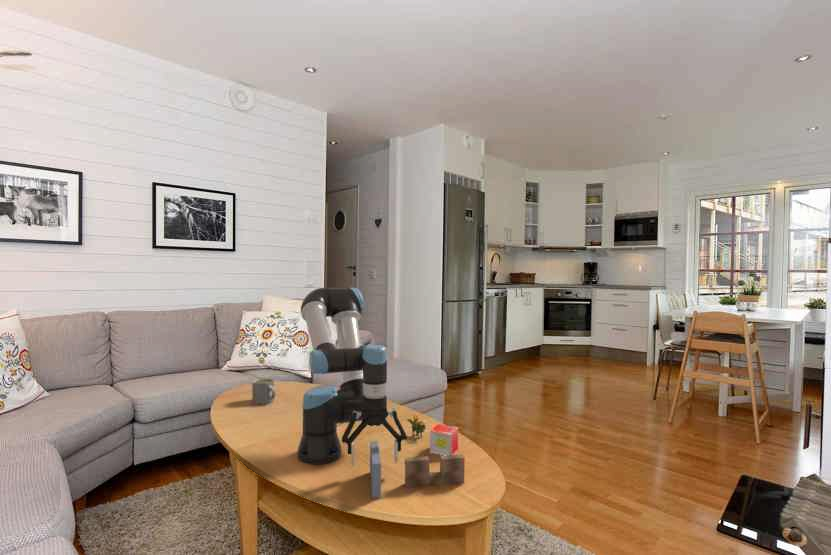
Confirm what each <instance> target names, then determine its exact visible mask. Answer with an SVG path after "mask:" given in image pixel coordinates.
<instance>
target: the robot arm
mask: <svg viewBox="0 0 831 555" xmlns="http://www.w3.org/2000/svg"><path fill="white" fill-rule="evenodd" d="M363 297H364V296H363V294H362V292H361V290H359V288H356V287H349V286H347V287H319V288H315V289H313V290H311V291H310V292H309V293H308V294H307V295H306V296H305V297H304V298H303V300H302V302H301V306H300V313H301V317H302V319H303V320H304V321H305V323H306V327H307V331H308V335H309V338H310V343H311V346H312V351H310V353H309V355H308V356H309V358H308V359H309V360H308V361H309V371H310V373H312V374H313V375H319V374H322V375H325V374H334V373H341V374H342V383H341V384H339V389H338V388H337V386H335V385H332V384H329V385H327V384H326V385H325V384H324V385H318V386H315V387H312V388H310V389H309V390H307V391H305V392H304V394H303V396H302V405H301V409H302V435H301V438H300V441H299V444H298V448H297V452H296V453H297V455H296V456H297V457H296V458H297V460H298V461H299V462H301V463H304V464H308V465H323V464H328V463H331V462H335V461H336V460H338V459H340V457H341V456H342V450H343V448H342V444H341V443H343V444H346V445H347V455H350V456H351V457H350V458H351V460H350V462H351V463H350V464H351V467H352V466H355V462H354V461H355V442H354V441H355V440H356V439H357V438H358V436H359V435H360V434H361V433H362V431H363V430H364V429H366V428H367V426H369V427H374V426H377V427H380V426H381V425H382V426H384V428H386V430H388V432H389V433H390V434H391V435H392V436H393V438H394V446H393V447H394V449H393V450H394V451H393V452H394V454H393V455H394V457H393V458H394V463H395V464H398V461H399V460H398V456H399V454H398V452H401V450H402V441H404V440H405V441H406V440H407V439H408V436H407V434H406V431H405V429H404V428H403V425H402V424H401V421H400V420H399V417H398V413H397V409H396V408H392V409H391V410H388V409H387V408H388V407H387V406H388V405H387V403H388V402H387V400H388V399H387V393H388V391H387V390H388V389H387V388H388V387H387V385H388V383H387V381H388V377H387V376H388V350H387V347H386V346H385V345H381V344H370V345H363V344H362V340H361V334H360V328H359V321H360V319H361V317H362V315H363V314H364V311H365V305H364V304H365V303H364V298H363ZM328 317H329V318H330V317H331V322H332V323H333V324H334V325H336V334H337V341H338V348H337V346H336V343H335V339H334V337H333V336H334V335H333V334H332V333H333V332H332V330H331V328H330V324H329V321H328ZM388 416H390V418H393V421H394V424H395V425H396V427H397V429H398V431H399V433H400V434H399V433H398V432H397V431H396V430H395V428H394V427H393V426H392V425H391V424H390V423H389V421H388V420H387V418H388ZM357 422H360V424H359V425H358V426H357V427H356V428H355V430H354V431H353V432H352V429H353V428H354V426H355V424H356V423H357ZM346 423H347V427H346V429H345V430H344V432H343V434H342V437H341V441H340V438H339V435H338V431H337V430H338V426H337V425H338V424H346ZM351 432H352V433H351ZM350 434H351V435H350Z"/></svg>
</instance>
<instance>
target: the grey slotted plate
mask: <svg viewBox="0 0 831 555" xmlns="http://www.w3.org/2000/svg"><path fill="white" fill-rule="evenodd" d="M369 476H370V482H371V483H370V484H371V497H372V499H381V498H382V460H381V454H380V448H379V442H378V440H376V441H375V440H374V441H371V440H370V442H369Z"/></svg>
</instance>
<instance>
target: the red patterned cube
mask: <svg viewBox="0 0 831 555" xmlns="http://www.w3.org/2000/svg"><path fill="white" fill-rule="evenodd" d="M458 449H459V426H452V425H447V424H441V423H437V424H436V425H435V426H434V427H433V428H432V429H431V430H430V431H429V454H432V453H434V455H437V454H440V455H439V456H442V455H452V454H453V455H455V453H456V452H455V451H458ZM454 452H455V453H454Z"/></svg>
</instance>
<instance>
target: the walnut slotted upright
mask: <svg viewBox="0 0 831 555" xmlns="http://www.w3.org/2000/svg"><path fill="white" fill-rule="evenodd" d="M465 459H466V458H465V456H464V454H453V455H446V456H442V455H439V471H433V472H430V457H429V456H414V457H413V456H412V457H405V458H404V485H405V486H404V487H405V488H406V489H408V488H420V487H422V488H423V487H434V486H436V485H438V486H450V485H451V484H452V485H463V484H462V483H464V484H465ZM436 487H437V486H436Z"/></svg>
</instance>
